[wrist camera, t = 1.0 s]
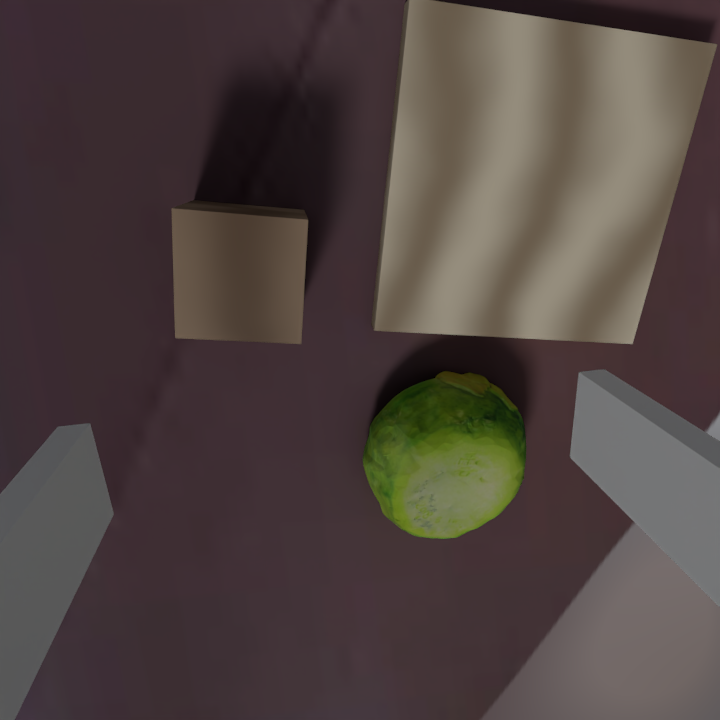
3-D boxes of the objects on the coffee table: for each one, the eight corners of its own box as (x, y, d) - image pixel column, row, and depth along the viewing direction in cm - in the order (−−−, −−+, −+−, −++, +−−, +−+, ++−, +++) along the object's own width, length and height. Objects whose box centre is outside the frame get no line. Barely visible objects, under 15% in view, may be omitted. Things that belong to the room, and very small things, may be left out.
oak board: (371, 324, 32) (374, 330, 31) (404, 3, 26) (409, -4, 25) (621, 338, 35) (632, 343, 34) (700, 49, 29) (717, 44, 28)
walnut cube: (195, 306, 30) (175, 338, 25) (194, 200, 28) (171, 208, 23) (298, 312, 31) (301, 343, 26) (304, 209, 29) (308, 219, 24)
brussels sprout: (379, 357, 33) (394, 389, 29) (534, 381, 35) (571, 414, 31) (344, 506, 37) (352, 556, 32) (486, 520, 39) (513, 568, 34)
